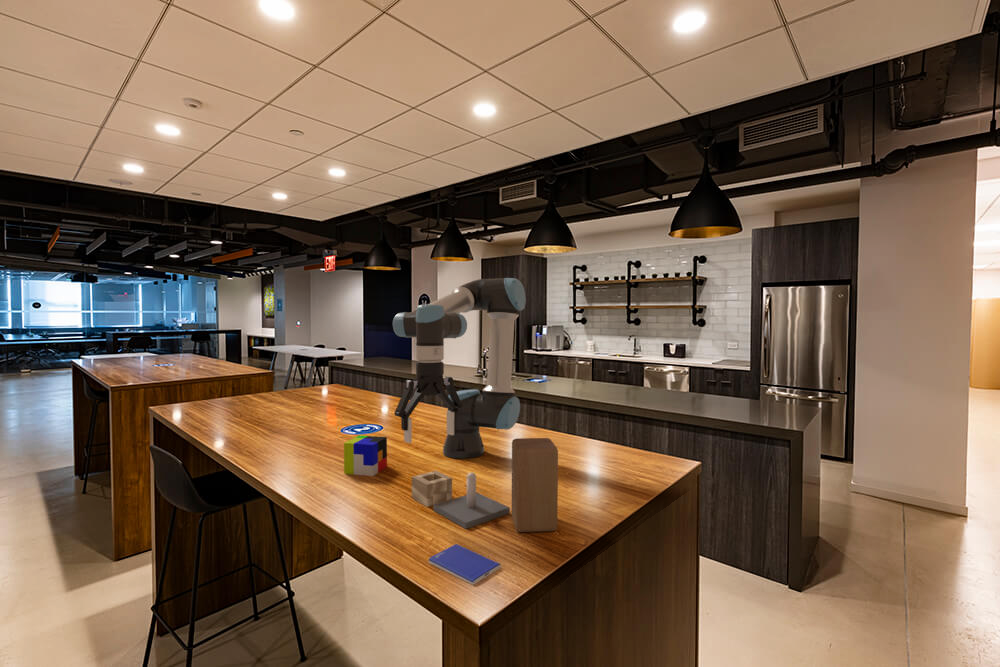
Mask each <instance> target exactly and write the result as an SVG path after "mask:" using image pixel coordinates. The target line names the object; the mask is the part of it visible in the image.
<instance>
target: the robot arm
mask: <svg viewBox="0 0 1000 667" xmlns="http://www.w3.org/2000/svg"><path fill="white" fill-rule="evenodd" d="M526 301H527V299H526V292H525V288H524V285H523V283H522V282H521V280H519V279H517V278H515V277H514V278H512V277H500V278H498V277H497V278H479V279H475V280H472V281H470V282H467V283H464V284H462V285H459V286H457V287H456V288H454V289H453V290H452V292H451V293H449V294H448V295H445V296H443V297H441V298H439V299H437V300H435V301H431V303H428V304H420V305H419V304H418V306H417V307H416V309H415V310H413V311H410V312H407V311H404V312H398V313H397V314H396V315H395V316H394V317H393V320H392V328H393V332H394V333H395V335H396V336H397V337H401V338H407V339H408V338H416V339H415V340H416V343H415V344H416V346H415V360H416V361H417V362H416V363H415V368H416V369H415V375H416V379H415V380H410V379H406V380H405V383H404V386H405V387H404V389H403V392H402V394H401V395H400V396H401V397H400V399H399V401H398V404H397V406H396V409H395V411H394V414H393V415H394V416H395V417H400V419H401V421H400V422H401V425H400V426H401V430H402V431H404V432H403V442H404V443H407V444H412V442H413V441H412V440H413V437H412V434H413V432H412V430H413V429H412V428H413V427H412V425H413V424H412V422H413V420H412V417H410V416H411V415H412V413H413V412H414V410H416V408H417V406H418V404H420V402H421V400H422V399H424V397H426V396H427V397H429V396H432V395H433V396H438V397H439V399H441V401H442V402H443V404H444V405H445V406H446V407H447V410H446V434H447V435H446V436H445V440H444V443H443V444H444V445H443V448H442V453H443V455H444V456H445V457H447V458H452V459H473V458H477V457H480V456H482V455H484V453H485V446H484V443H483V439H482V437H481V433H480V428H487V429H496V430H511V429H512V428H513V427H514V426H515V425H516V423H517V420H518V419H519V415H520V413H521V412H520V411H521V403H520V399H519V398H518V397H517V396H515V394H516V391H515V390H514V389H513V388H512V370H513V354H514V350H513V349H514V335H515V334H514V332H515V320H516V319H517V318H518V317H519V315H520V312H521V311H523V310H524V309H525V307H526ZM471 311H486V315H487V316H488V317H489V319H490V325H489V326H490V327H489V331H490V332H489V344H488V345H489V346H488V359H487V360H488V363H487V375H486V377H487V380H486V386H485V387H484V388H483V389H482V393H481V392H480V390H479V389H476V388H475V389H472V388H471V389H464V390H462V389H461V390H458V391H457V390H456V387H455V385H454V378H453V377H452V376H445V377H444V373H445V371H444V370H445V369H444V368H445V366H444V365H445V364H444V362H443V360H444V359H445V358H444V353H445V352H444V351H445V348H444V347H445V345H444V344H445V343H444V340H445V339H457V338H460V337H461V338H462V337H463V336H464V335H465V334H466V332H467V329H468V322H467V319H466V317H465V316H464V315H463V314H465V313H469V312H471ZM461 313H463V314H461ZM443 386H445V388H446V390H447V393H448V394H447V393H446V391H445V390H444V387H443ZM415 388H416V390H415V391H414V389H415ZM413 391H414V393H413ZM412 394H413V396H412ZM411 396H412V397H411Z"/></svg>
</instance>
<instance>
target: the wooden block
mask: <svg viewBox="0 0 1000 667" xmlns="http://www.w3.org/2000/svg"><path fill="white" fill-rule="evenodd" d="M558 473H559V450H558V448H557V446H556V444H555V443H554V442H553V440H552V439H551V438H549V437H535V438H534V437H533V438H530V437H529V438H526V437H524V438H523V437H522V438H521V437H520V438H514V439H512V442H511V517H512V520H513V523H514V528H515V530H516V532H518V533H528V532H529V533H531V532H554V531H557V528H558V515H559V514H558V500H559V497H558V496H559V494H558V493H559V490H558V488H559V484H558V483H559V481H558V480H559V474H558Z"/></svg>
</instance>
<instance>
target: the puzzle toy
mask: <svg viewBox="0 0 1000 667" xmlns="http://www.w3.org/2000/svg"><path fill="white" fill-rule="evenodd" d="M387 446H388V437H387V436H378V435H377V436H376V435H375V436H374V435H360V434H359V435H357V436H356V437H353V438H351V439H349V440H348V441H345V442H343V462H344V463H343V473H344V475H357V476H366V477H367V476H368V477H374V476H375V475H377V474H378V473H379V472H381V471H382V470H384V469H386V468H387V467H388V447H387Z"/></svg>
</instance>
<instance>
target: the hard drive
mask: <svg viewBox="0 0 1000 667" xmlns="http://www.w3.org/2000/svg"><path fill="white" fill-rule="evenodd" d="M428 564H430V565H431V566H434V567H436V568H438V569H440V570H441V571H443V572H446V573H448V574H450V575H452V576H454V577H455V578H458V579H460V580H462V581H464V582H465V583H468V584H470V585H471V586H474V585H475V584H477V583H479V582H480V581H481V580H483V579H485V578H486V577H488V576H490V575H491V574H493V573H495V572H496V571H497V570H500V569H501V563H499V562H497V561H494V560H492V559H490V558H488V557H485V556H483V555H482V554H479V553H477V552H475V551H472V550H470V549H468V548H467V547H464V546H462V545H460V544H456V543H455V544H452V545H451V546H450V547H448V548H445V549H444V550H442V551H440V552H438V553H436V554H434V555H432V556H430V557H429V558H428Z"/></svg>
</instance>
